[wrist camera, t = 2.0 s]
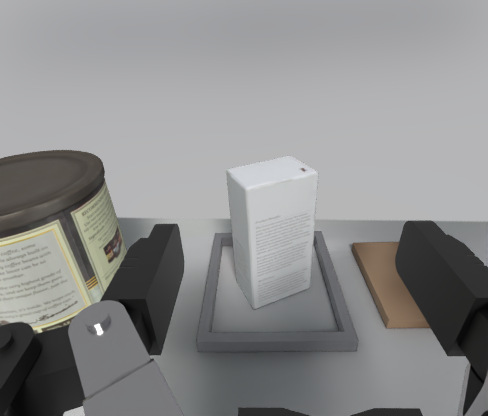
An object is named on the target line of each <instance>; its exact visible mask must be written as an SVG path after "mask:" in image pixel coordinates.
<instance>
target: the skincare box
mask: <svg viewBox="0 0 488 416" xmlns="http://www.w3.org/2000/svg"><path fill="white" fill-rule="evenodd" d="M226 174H227V185H228V194H229V206H230V216H231V227H232V238H233V249H234V259H235V271H236V280H237V283H238V284H239V286H240V287H241V289H242V291H243V292H244V294H245V296H246V298H247V299H248V301H249V303H250V304H251V306H252V308H253V309H257V308H259V307H262V306H264V305H267V304H269V303H272V302H275V301H277V300H280V299H282V298H285V297H287V296H290V295H292V294H295V293H298V292H300V291H303V290H305V289H308V288H310V279H311V266H312V252H313V240H314V226H315V212H316V200H317V187H318V174H319V173H318V172H317V171H316V170H314V169H312V168H310V167H309V166H307V165H305V164H304V163H302V162H300V161H299V160H297V159H295V158H294V157H291V156H285V157H281V158H277V159H272V160H268V161H263V162H259V163H254V164H249V165H244V166H240V167H236V168H231V169H227V170H226Z"/></svg>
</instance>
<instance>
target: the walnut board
mask: <svg viewBox="0 0 488 416" xmlns="http://www.w3.org/2000/svg"><path fill="white" fill-rule="evenodd" d="M398 245H399V242H371V243H353V245H352V252H353V254H354V257H355V259H356V261H357V263H358V266H359V268H360V270H361V272H362V275H363V277H364V279H365V281H366V283H367V286H368V288H369V290H370V292H371V295H372V297H373V299H374V301H375V304H376V306H377V308H378V310H379V313H380V315H381V317H382V319H383V321H384V324H385V326H386V328H431V327H430V326H429V324H428V323H427V321H426V319H425V318H424V316H423V314H422V313H421V311H420V309H419V308H418V306H417V304H416V303H415V301H414V299H413V298H412V296H411V294H410V293H409V291H408V289H407V288H406V286H405V284H404V283H403V281H402V279H401V278H400V276H399V274H398V273H397V270H396V266H395V256H396V252H397V249H398Z"/></svg>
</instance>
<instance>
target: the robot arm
mask: <svg viewBox="0 0 488 416" xmlns="http://www.w3.org/2000/svg"><path fill="white" fill-rule="evenodd" d="M395 266H396V270H397V273H398V274H399V276H400V278H401V279H402V281H403V283H404V284H405V286H406V288H407V289H408V291H409V293H410V294H411V296H412V298H413V299H414V301H415V303H416V304H417V306H418V308H419V309H420V311H421V313H422V314H423V316H424V318H425V319H426V321H427V323H428V324H429V326H430V327H431V329H432V331H433V332H434V334H435V336H436V337H437V339H438V341H439V342H440V344H441V346H442V347H443V349H444V351H445V352H446V354H447V356H466V358H467V359H468V361H469V364H468V366H467V367H466V370H465V376H464V382H463V387H462V393H461V398H460V404H459V410H458V415H457V416H488V267H487V266H484V263H483V262H482V261H481V260H480V259H479V258H478V257H475V254H474V253H473V252H472V251H471V250H470V249H469V248H468V247H467V246H466V245H465V244H464V243H462V242H460V241H458V240H457V239H455V238H453V237H452V236H450V235H446V234H445V233H444V232H443V231H442V230H441V229H440V228H439V227H438V226H437V225H436V224H435V223H434V222H433V221H407V222H406V223H405V225H404V227H403V231H402V234H401V238H400V241H399V245H398V249H397V252H396V256H395ZM183 273H184V256H183V250H182V244H181V237H180V231H179V227H178V225H177V224H156V225H155V226H154V228H153V230H152V232H151V234H150V236H149V238H140V239H139V240H138V241H137V242H136V243H134V244H133V245H132V246H131V247H130V248H129V250H128V252H127V253H126V255H125V257H124V260H123V261H122V262H121V264H120V266H119V269H118V270H117V271H116V273H115V275H114V277H113V278H112V280H111V282H110V284H109V286H108V287H107V289H106V291H105V293H104V295H103V296H102V298H101V300H100V302H97V303H94V304H92V305H90V306H88V307H86V308H84V309H83V310H82V311H80V312H79V313H78V314H77V315H76V316H75V317H74V319H73V320H72V321H71V323H70V325H67V326H63V327H60V328H56V329H52V330H48V331H44V332H41V333H37V334H35V332H34V330H33V328H32V327H31V326H30V325H29V324H27V323H24V322H14V323H9V324H5V325H2V326H0V416H63V414H64V412H65V411H68V410H71V409H74V408H77V407H81V406H83V408H84V412H85V416H183V414H182V412H181V410H180V408H179V406H178V404H177V402H176V400H175V398H174V396H173V394H172V392H171V390H170V388H169V386H168V384H167V383H166V381H165V379H164V377H163V375H162V373H161V371H160V369H159V367H158V365H157V363H156V362H155V360H154V359H151V358H150V356H149V355H161V352H162V349H163V345H164V342H165V338H166V334H167V331H168V327H169V324H170V320H171V316H172V313H173V309H174V306H175V302H176V299H177V295H178V291H179V288H180V284H181V281H182V277H183ZM238 416H309V415H306V414H302V413H299V412H295V411H291V410H288V409H284V408H238ZM351 416H423V415H422V413H421V411H420V409H402V408H374V409H371V410H367V411H364V412H361V413H358V414H354V415H351Z"/></svg>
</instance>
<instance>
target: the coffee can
mask: <svg viewBox="0 0 488 416" xmlns="http://www.w3.org/2000/svg"><path fill="white" fill-rule="evenodd" d="M104 172H105V171H104V167H103V163H102V161H101V160H100V158H98V157H97V156H95V155H93V154H91V153H87V152H81V151H72V150H53V151H40V152H32V153H26V154H20V155H14V156H9V157H5V158H1V159H0V326H2V325H5V324H9V323H14V322H24V323H27V324H29V325H30V326H31V327H32V328H33V330H34V332H35V334H37V333H41V332H44V331H48V330H52V329H56V328H60V327H63V326H67V325H70V323H71V321H72V320H73V319H74V317H75V316H76V315H77V314H78V313H79V312H80V311H82V310H83V309H84V308H86V307H88V306H90V305H92V304H94V303H97V302H100V300H101V298H102V296H103V295H104V293H105V291H106V289H107V287H108V286H109V284H110V282H111V280H112V278H113V277H114V275H115V273H116V271H117V270H118V269H119V266H120V264H121V262H122V261H123V260H124V257H125V255H126V253H127V250H126V246H125V243H124V240H123V236H122V233H121V230H120V227H119V223H118V220H117V217H116V214H115V211H114V207H113V204H112V201H111V198H110V194H109V191H108V188H107V185H106V182H105V178H104Z"/></svg>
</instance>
